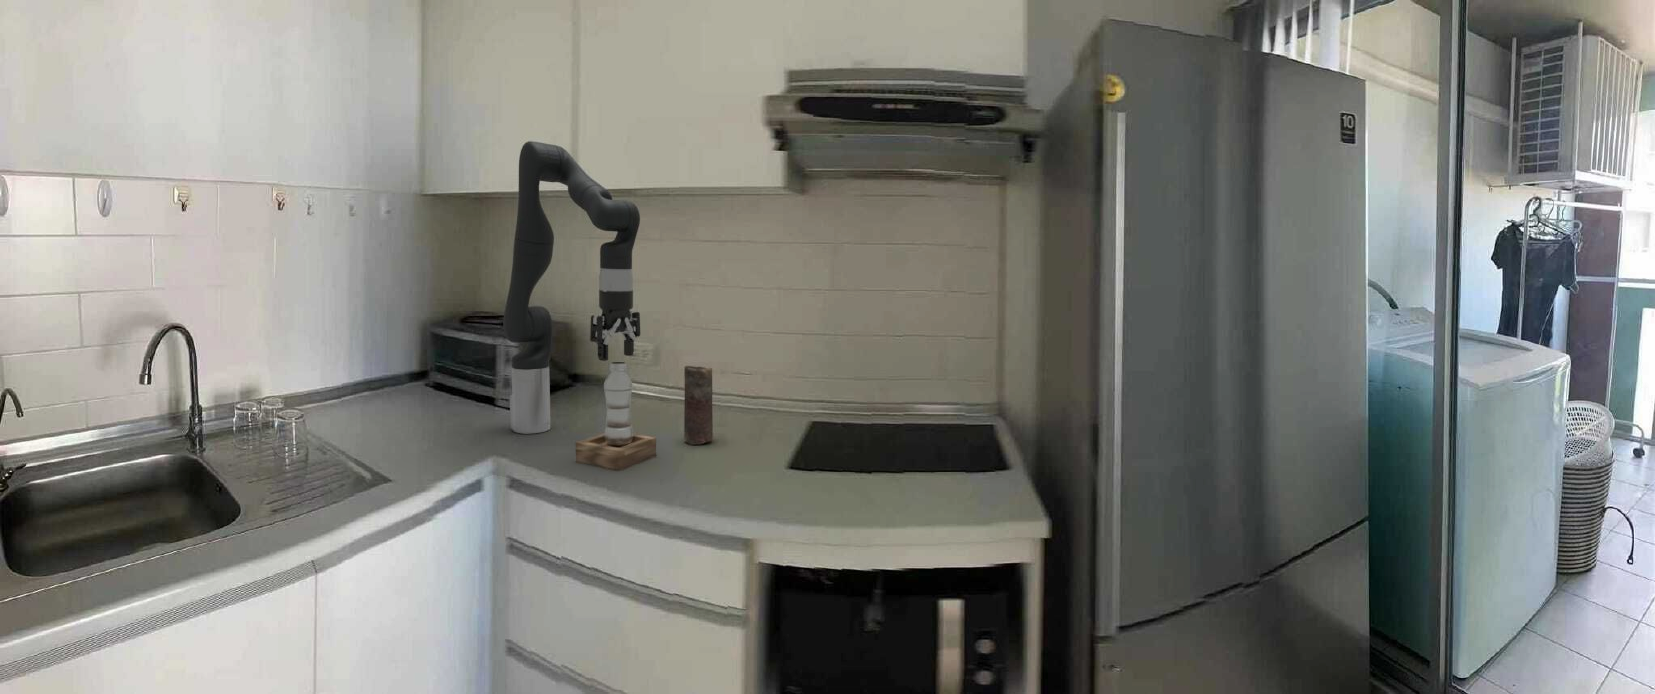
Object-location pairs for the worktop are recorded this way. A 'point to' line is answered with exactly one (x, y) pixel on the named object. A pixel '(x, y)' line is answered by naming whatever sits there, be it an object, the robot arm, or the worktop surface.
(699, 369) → the candle
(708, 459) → the worktop surface
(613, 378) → the plastic bottle
